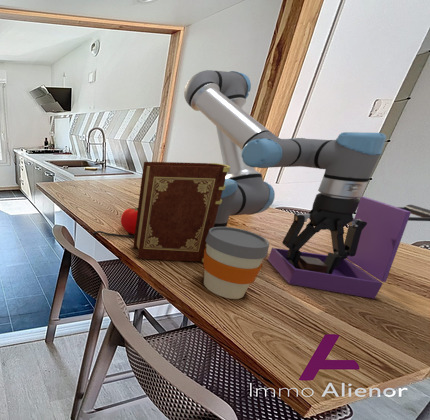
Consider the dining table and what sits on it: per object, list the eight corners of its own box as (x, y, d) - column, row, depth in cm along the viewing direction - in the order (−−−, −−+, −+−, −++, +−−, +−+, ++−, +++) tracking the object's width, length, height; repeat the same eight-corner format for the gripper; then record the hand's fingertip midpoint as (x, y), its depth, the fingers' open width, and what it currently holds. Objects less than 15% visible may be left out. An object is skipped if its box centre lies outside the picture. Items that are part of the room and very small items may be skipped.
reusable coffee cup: (235, 310, 56) (253, 253, 51) (186, 281, 67) (196, 231, 62) (263, 294, 62) (281, 241, 57) (213, 269, 72) (225, 223, 67)
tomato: (150, 240, 91) (154, 214, 87) (118, 236, 94) (121, 211, 91) (148, 228, 102) (152, 205, 98) (120, 224, 105) (123, 202, 101)
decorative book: (199, 250, 83) (219, 163, 74) (211, 263, 76) (235, 167, 66) (132, 247, 85) (143, 161, 76) (137, 259, 78) (150, 165, 68)
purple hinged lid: (406, 211, 54) (470, 212, 51) (360, 196, 66) (410, 196, 62) (381, 281, 59) (438, 286, 56) (343, 256, 71) (387, 259, 68)
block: (301, 277, 68) (307, 263, 67) (293, 268, 72) (298, 255, 71) (322, 280, 67) (328, 266, 65) (312, 271, 71) (318, 258, 69)
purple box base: (288, 283, 66) (294, 269, 65) (267, 260, 78) (272, 247, 76) (374, 298, 61) (383, 283, 59) (338, 271, 72) (344, 257, 71)
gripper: (296, 195, 62) (270, 272, 69) (407, 203, 55) (364, 288, 63) (282, 188, 69) (259, 259, 76) (379, 195, 62) (344, 272, 70)
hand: (307, 272), depth 69 cm, fingers open, 7 cm apart
